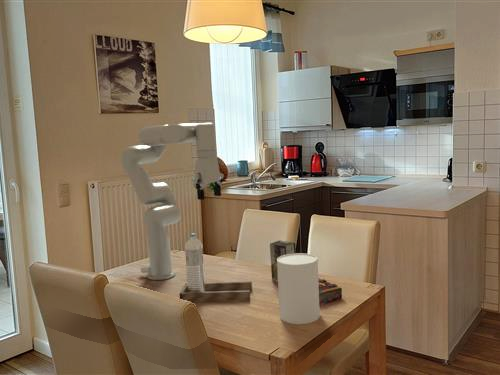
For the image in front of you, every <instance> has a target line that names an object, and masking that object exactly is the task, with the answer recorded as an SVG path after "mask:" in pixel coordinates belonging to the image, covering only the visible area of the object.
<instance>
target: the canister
mask: <svg viewBox="0 0 500 375" xmlns="http://www.w3.org/2000/svg"><path fill="white" fill-rule="evenodd" d="M318 261H319V260H318V257H317V256H316V255H314V254H310V253H303V252H302V253H301V252H299V253H297V252H296V253H295V254H287V255H283V256H280V257H278V258H277V271H278V282H277V286H278V290H277V291H278V306H279V307H278V308H279V309H278V310H279V318H280V320H281V321H283V322H285V323H288V324H293V325H303V324H311V323H314V322H316V321H318V320H319V319H320V317H321V316H320V305H319V284H318V278H319V262H318Z"/></svg>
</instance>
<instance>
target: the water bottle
mask: <svg viewBox="0 0 500 375" xmlns="http://www.w3.org/2000/svg"><path fill="white" fill-rule="evenodd" d="M189 235H190V238H188V240H186V242H185V244H184V253H185V263H186V264H185V267H186V268H185V269H186V280H187V281H186V283H187V285H188V292H206V291H205V290H206V289H205V283H206V278H205V277H206V276H205V264H204V253H203V252H204V251H203V243H202V241H201V240H200V239H198V238H197V237H196V233H194V232H193V233H190V234H189Z"/></svg>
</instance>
